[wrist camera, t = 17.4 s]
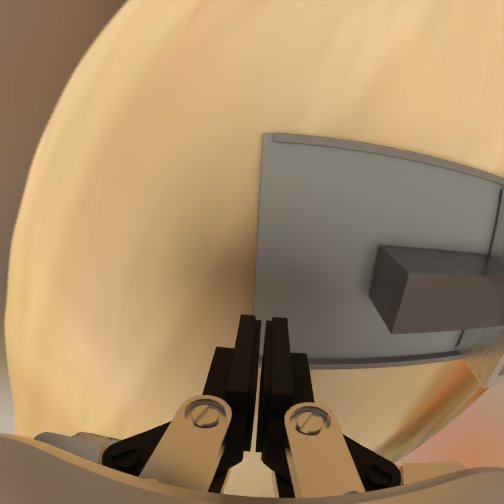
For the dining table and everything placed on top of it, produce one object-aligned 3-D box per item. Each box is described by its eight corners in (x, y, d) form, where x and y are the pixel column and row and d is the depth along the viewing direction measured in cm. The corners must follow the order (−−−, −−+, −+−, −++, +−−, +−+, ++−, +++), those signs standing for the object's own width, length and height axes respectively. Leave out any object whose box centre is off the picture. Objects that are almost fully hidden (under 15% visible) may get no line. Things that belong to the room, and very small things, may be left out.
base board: (521, 335, 17) (533, 348, 15) (251, 350, 18) (248, 374, 16) (560, 203, 13) (577, 209, 11) (264, 134, 14) (263, 130, 12)
